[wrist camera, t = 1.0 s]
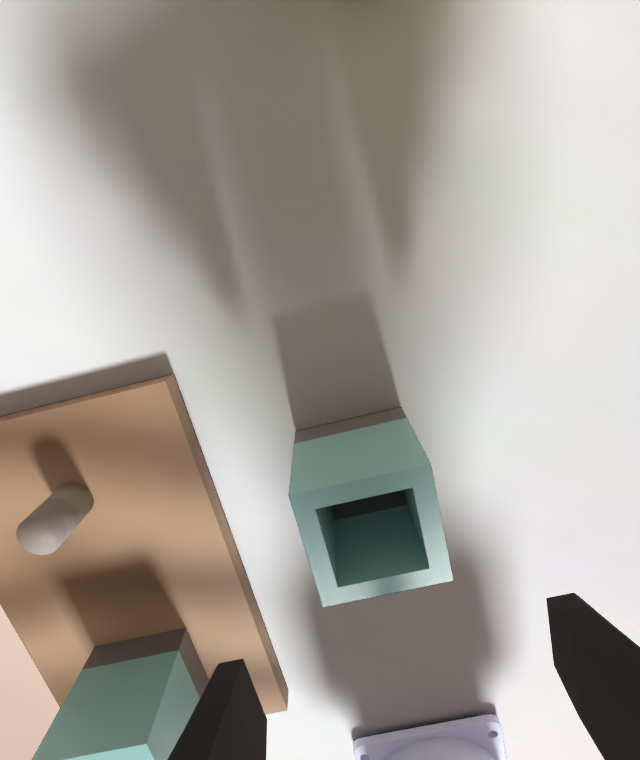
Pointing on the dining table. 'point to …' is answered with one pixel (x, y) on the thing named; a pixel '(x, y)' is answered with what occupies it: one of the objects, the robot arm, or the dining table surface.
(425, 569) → the sleeve
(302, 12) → the dining table surface
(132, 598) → the pin board
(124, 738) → the seated sleeve
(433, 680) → the dining table surface
